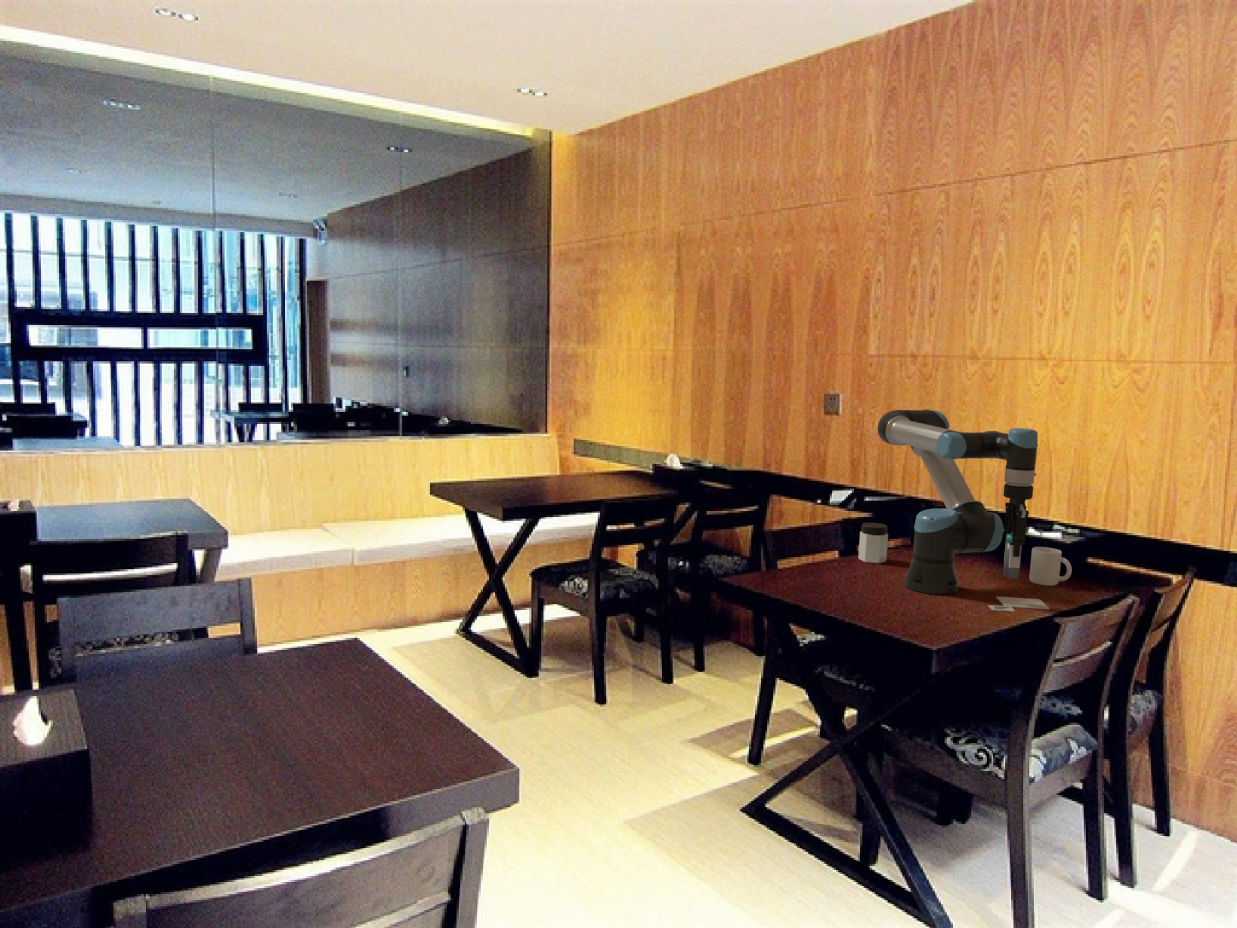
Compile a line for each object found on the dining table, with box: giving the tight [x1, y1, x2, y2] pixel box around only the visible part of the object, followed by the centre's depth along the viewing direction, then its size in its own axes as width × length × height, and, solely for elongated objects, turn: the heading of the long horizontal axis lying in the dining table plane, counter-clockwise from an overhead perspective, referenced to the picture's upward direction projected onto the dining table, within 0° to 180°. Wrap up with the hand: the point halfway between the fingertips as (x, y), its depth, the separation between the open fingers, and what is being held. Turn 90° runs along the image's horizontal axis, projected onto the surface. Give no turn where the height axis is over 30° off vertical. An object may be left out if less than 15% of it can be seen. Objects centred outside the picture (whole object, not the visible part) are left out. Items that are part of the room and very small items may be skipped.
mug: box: [1028, 546, 1073, 587], centre depth 277 cm, size 12×8×10 cm
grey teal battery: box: [1002, 532, 1020, 580], centre depth 254 cm, size 4×4×13 cm
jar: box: [858, 522, 889, 564], centre depth 300 cm, size 9×8×12 cm
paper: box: [995, 596, 1051, 610], centre depth 256 cm, size 12×9×1 cm
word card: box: [988, 604, 1016, 613], centre depth 250 cm, size 6×4×1 cm, turn 82°
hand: (1011, 565), depth 254 cm, fingers closed on grey teal battery, 4 cm apart
